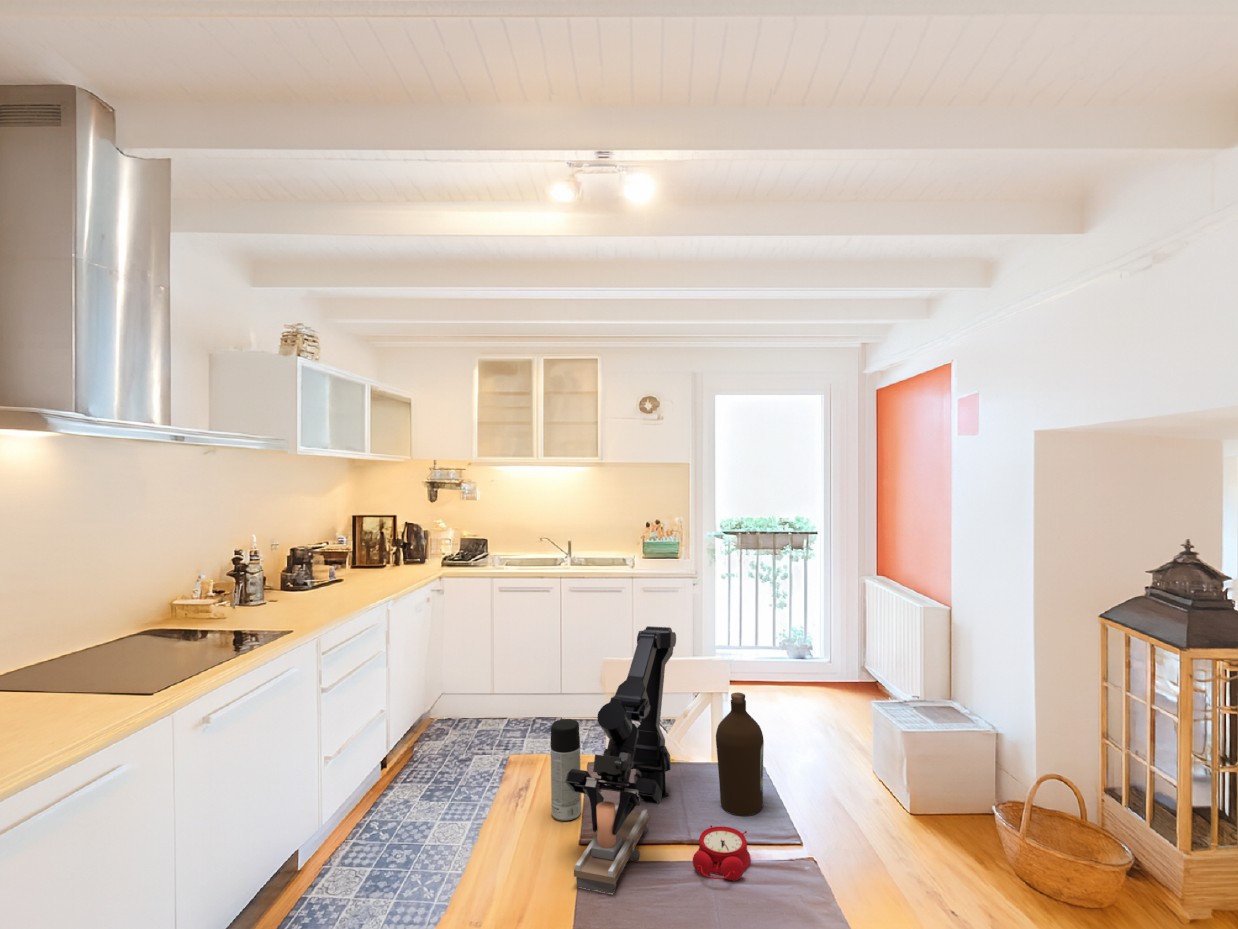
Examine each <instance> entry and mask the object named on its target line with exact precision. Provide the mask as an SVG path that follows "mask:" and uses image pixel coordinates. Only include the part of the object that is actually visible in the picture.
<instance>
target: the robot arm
mask: <svg viewBox="0 0 1238 929" xmlns="http://www.w3.org/2000/svg"><path fill="white" fill-rule="evenodd" d="M676 644H677V634H676V632H674V631H672V628H671V627H669V626H668V627H666V626H646V627H645V628H644V629H642V630H639V631H638V633H637V636H636V646H635V651H634V654H633V656H632V657H633V658H632V661H631V664H630V667H629V671H628V674H627V678H626V679H625V680H624V681H623V682H622V683H620V684H619V685H618V687H617V689H616V691H615V693H614V695H613V697H611V698H610V701H609V702H608V703H605V704H604V705H602V706H601V707H600V709H599V711H598V713H597V716H596V717H597V722H598V725H600V726H599V727H600V728H601V729H602V730H603V732H604V734H605V736H606V737H607V738H608V744H607V747H606V748H604V751H603V754H596V753H595V754H594V761H593V769H592V772H593V773H596V774H597V776H598V777H599V778H597V777H592V776H591V774H590V773H589V772H588V771H587V770H583V769H581V770H577V769H571V770H570V771H569V772H568V773H567V777H566V781H565V782H566V783H567V785H568V786H569V787H570V788H571V790H572V791H574V792H576V793H581V794H584V795H586V796H587V797H588V799H589V804H590V814H591V825H592V826H591V828H592V831H593V833H596V832H597V809H596V806H597V804H598V803H600V802H604V799H605V798H604V797H603V796H602V794H601V793H602V791H603V790H604V791H609V792H617V793H619V802H618V805H617V806H618V810H617V813H616V817H615V821H614V825H613V832H612V834H613V835H616V834H617V832H618V831H619V829H620V827H621V826H622V824H623V823H624V821H625V820H626V818H627V817H628V815H629V814H630V813H631V812H632V813H633V811H634V810H635V808H636V807H640V806H641V800H642V799H643V800H642V801H643V802H644V801H645V803H646V804H653V805H654V804H655V805H660V804H661V802H662V797H663V798H666V797H669V796H670V792H668V791H667V786H666V772H668V771H671V768H672V767H671V755H670V753H669V749H668V748H667V746H666V738H665V736H664V734H663V732H662V729H661V726H660V725H661V715H662V703H663V693H664V683H665V671H666V664H667V663H668V662H669V660H670V659H671V657H672V656H673V654H674V647H676ZM632 721H635V722H636V721H637V722H640V724H639V725H638V726H637V725H636V724H634V723H633V722H632ZM632 770H635V774H634V775H633V780H634V781H633V782H630V780H631V773H632ZM640 797H641V798H642V799H641V798H640Z"/></svg>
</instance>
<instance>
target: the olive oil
mask: <svg viewBox="0 0 1238 929" xmlns="http://www.w3.org/2000/svg"><path fill="white" fill-rule="evenodd" d="M730 698H731V699H730V709H731V710H730V711H729V713H728V714H727V715H725V717H724V718H722V720H721V721H720V722H719V724H718V726H717V727H716V728H717V729H716V733H715V744H716V755H717V758H716V759H717V767H718V768H717V770H718V781H719V782H718V784H719V799H720V807H721V808H722V809H723V810H724V811H725V812H727V813H728V814H732V815H734V816H741V817H748V816H753V815H756V814H758V813H760V812H761V811H762V809H763V807H764V792H763V791H764V747H765V746H764V745H765V744H764V743H765V742H764V734H763V731H762V728H761V726H760V725H759V723H758V722H757V721H756V720H755V719H754V718H753V717H752V716H751V715H750V714H749V713H748V712H747V701H746V694H745V693H743V692H732V693H731V694H730Z"/></svg>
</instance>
